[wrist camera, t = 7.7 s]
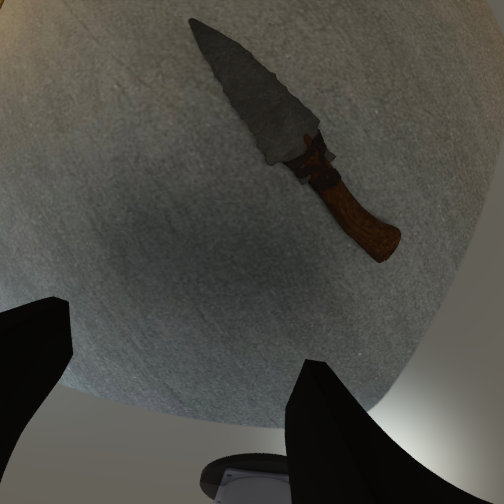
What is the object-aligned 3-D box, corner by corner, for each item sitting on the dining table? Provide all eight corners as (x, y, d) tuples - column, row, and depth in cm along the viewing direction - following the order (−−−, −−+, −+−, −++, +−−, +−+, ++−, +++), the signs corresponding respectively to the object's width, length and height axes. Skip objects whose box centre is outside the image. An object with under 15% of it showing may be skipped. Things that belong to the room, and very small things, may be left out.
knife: (415, 248, 15) (343, 300, 14) (392, 246, 17) (324, 292, 16) (266, -15, 12) (180, 8, 12) (257, 6, 14) (180, 30, 14)
